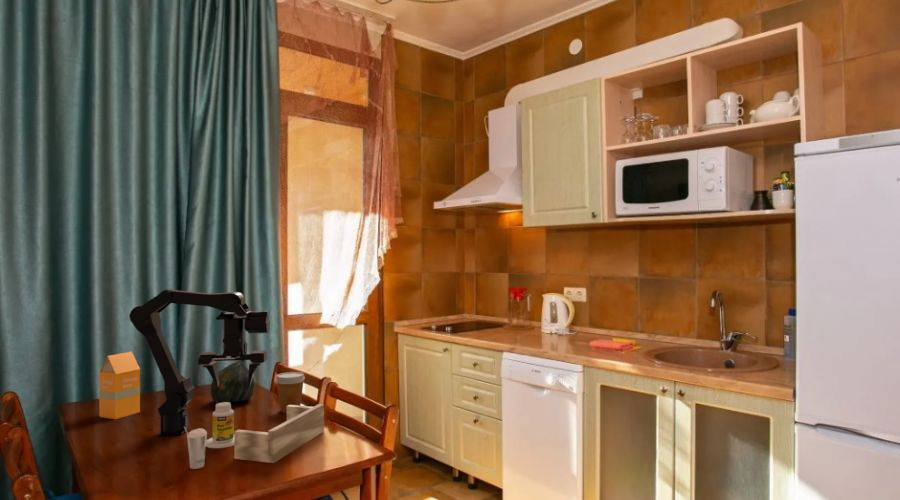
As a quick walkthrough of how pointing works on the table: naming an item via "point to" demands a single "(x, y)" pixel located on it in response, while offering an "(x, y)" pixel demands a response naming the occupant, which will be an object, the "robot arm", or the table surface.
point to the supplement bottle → (223, 423)
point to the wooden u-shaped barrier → (280, 435)
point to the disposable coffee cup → (289, 389)
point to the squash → (233, 384)
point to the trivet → (218, 444)
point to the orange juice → (119, 386)
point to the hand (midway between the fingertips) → (233, 386)
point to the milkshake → (196, 447)
